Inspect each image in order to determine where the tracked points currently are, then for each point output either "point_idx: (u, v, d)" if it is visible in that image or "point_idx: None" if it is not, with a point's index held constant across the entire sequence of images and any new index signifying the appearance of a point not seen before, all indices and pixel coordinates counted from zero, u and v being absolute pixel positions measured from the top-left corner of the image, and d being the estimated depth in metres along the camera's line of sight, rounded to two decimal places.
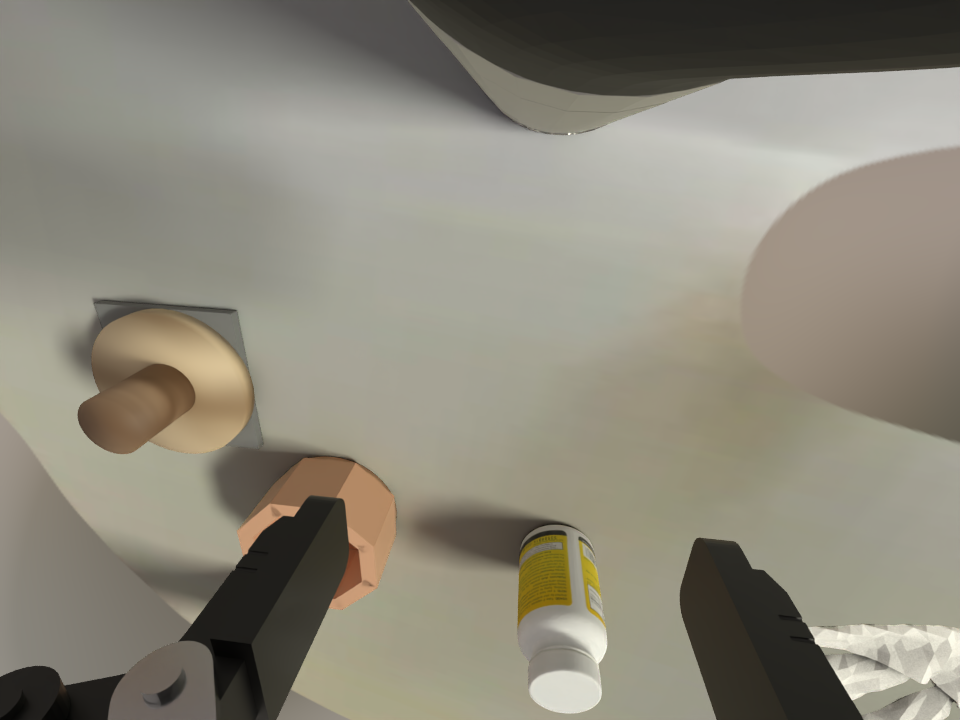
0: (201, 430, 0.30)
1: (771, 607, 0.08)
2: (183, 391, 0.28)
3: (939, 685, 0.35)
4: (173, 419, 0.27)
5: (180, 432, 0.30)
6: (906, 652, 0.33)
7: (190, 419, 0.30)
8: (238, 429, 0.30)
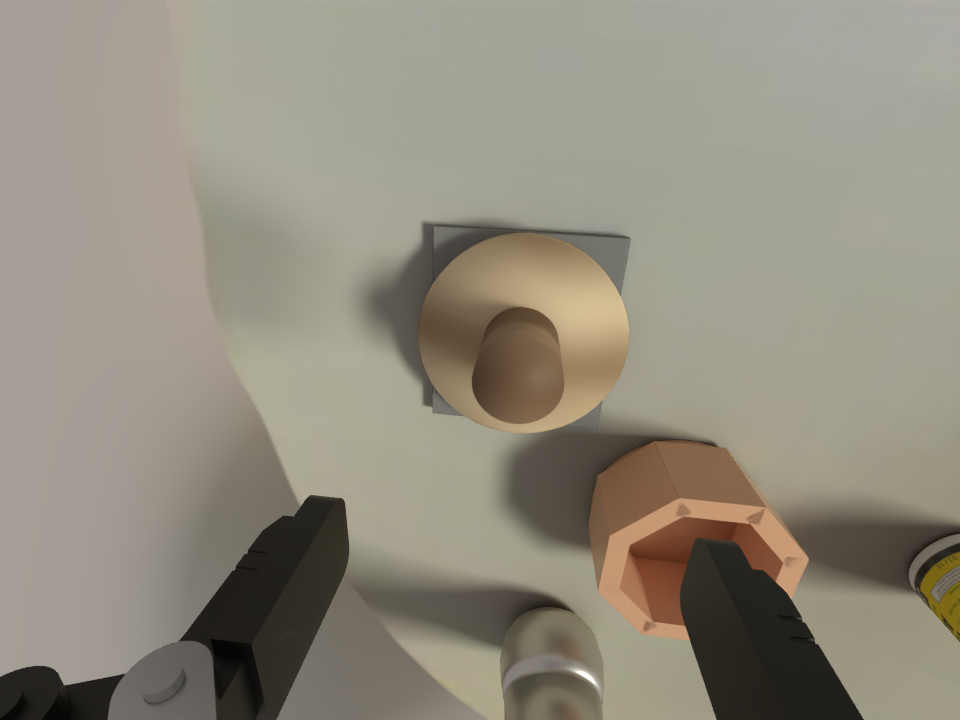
0: None
1: (771, 607, 0.08)
2: None
3: None
4: None
5: None
6: None
7: None
8: (601, 399, 0.22)
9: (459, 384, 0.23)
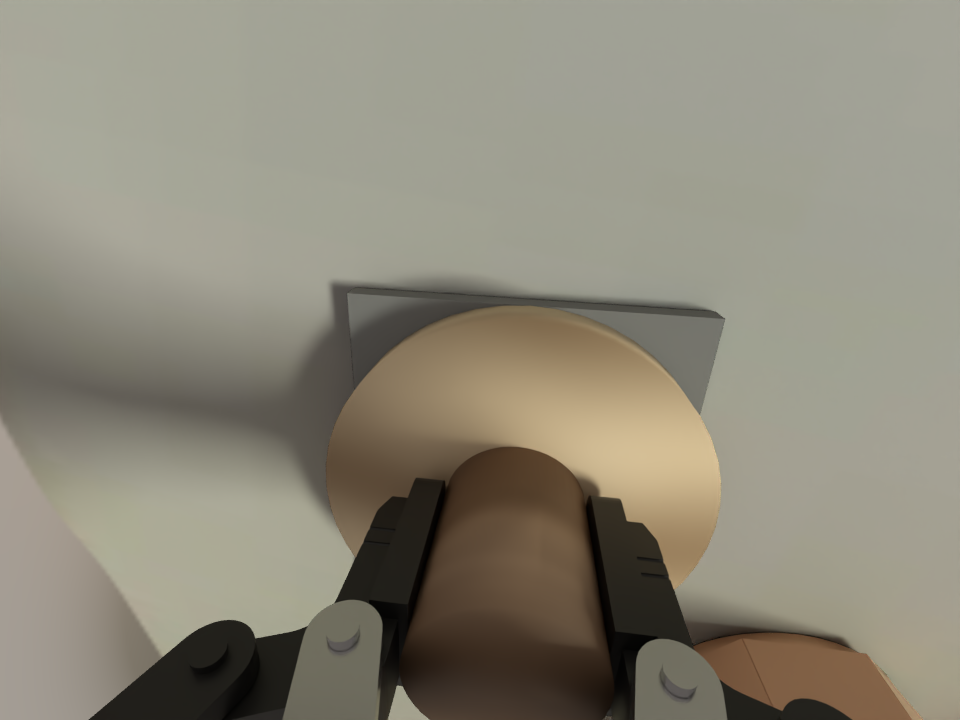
0: None
1: (632, 548, 0.09)
2: (587, 522, 0.11)
3: None
4: None
5: None
6: None
7: None
8: None
9: None
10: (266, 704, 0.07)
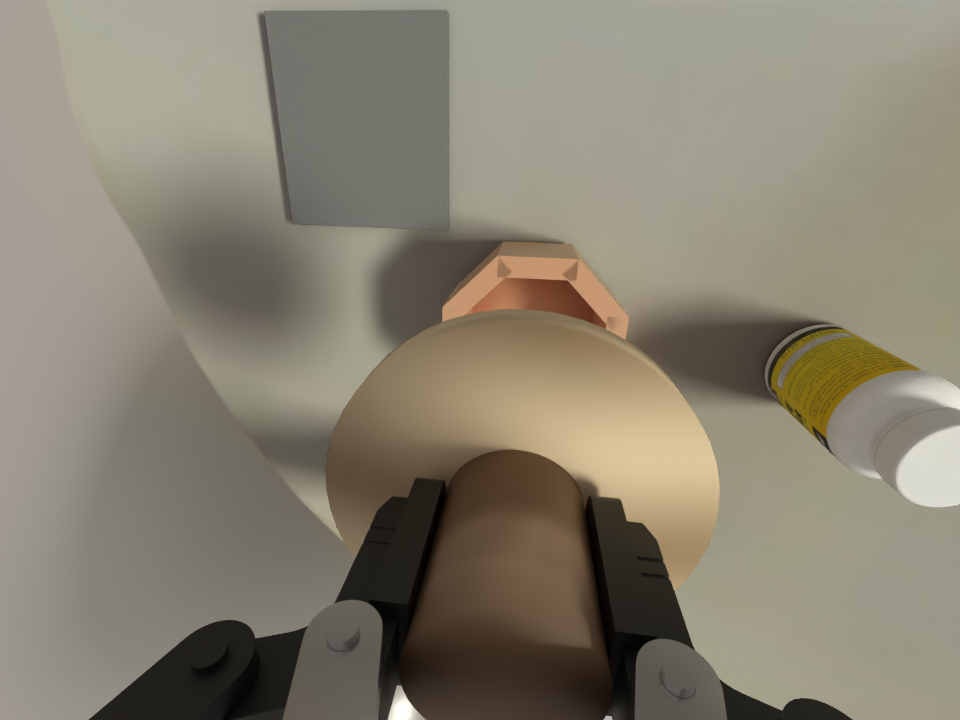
0: None
1: (632, 548, 0.09)
2: (586, 524, 0.11)
3: None
4: None
5: None
6: None
7: None
8: None
9: None
10: (266, 704, 0.07)
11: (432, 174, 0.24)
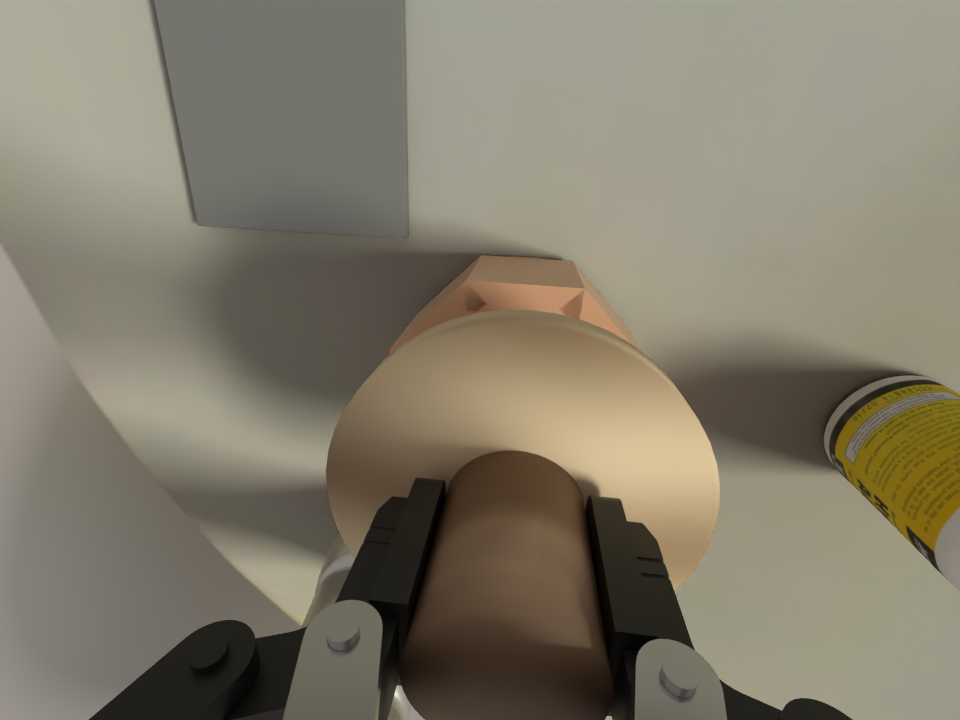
0: None
1: (632, 548, 0.09)
2: (586, 525, 0.11)
3: None
4: None
5: None
6: None
7: None
8: None
9: None
10: (266, 704, 0.07)
11: (383, 161, 0.17)
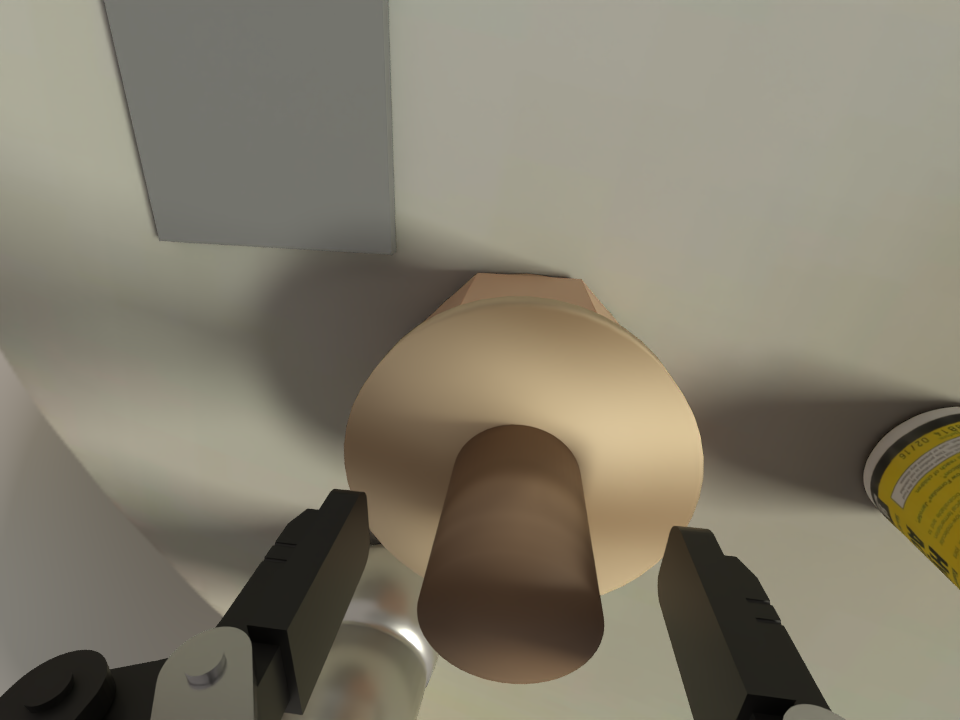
0: None
1: (739, 590, 0.08)
2: (582, 491, 0.12)
3: None
4: None
5: None
6: None
7: None
8: (650, 565, 0.13)
9: (416, 536, 0.14)
10: (130, 718, 0.06)
11: (365, 168, 0.15)
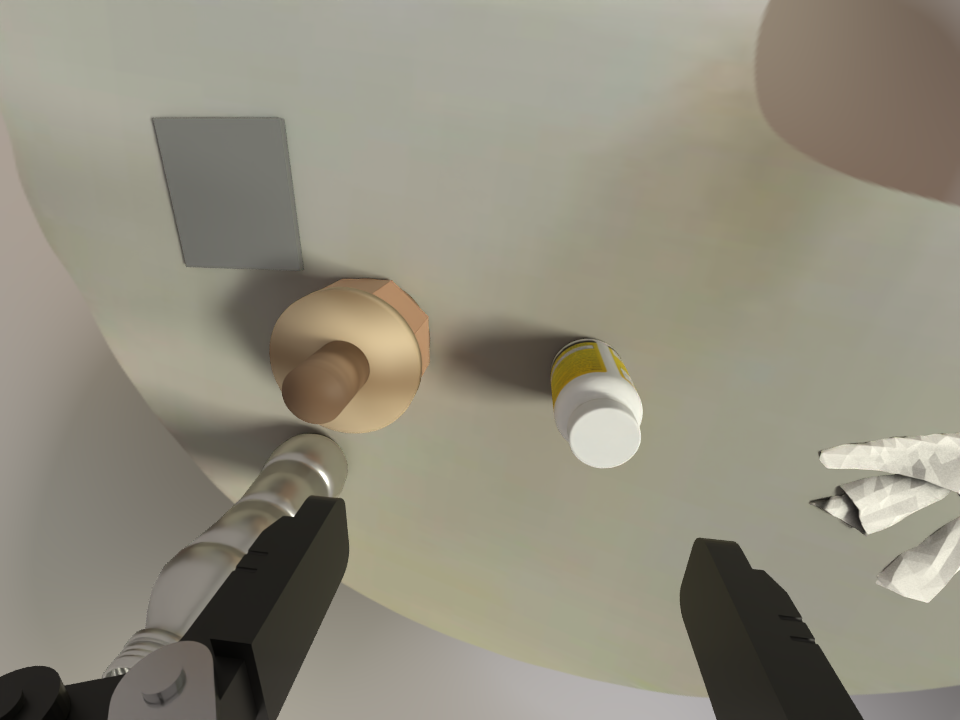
0: (369, 408, 0.30)
1: (771, 607, 0.08)
2: (363, 366, 0.28)
3: None
4: (356, 393, 0.28)
5: (347, 412, 0.31)
6: (941, 465, 0.33)
7: (360, 397, 0.30)
8: (407, 406, 0.30)
9: None
10: None
11: (283, 230, 0.32)
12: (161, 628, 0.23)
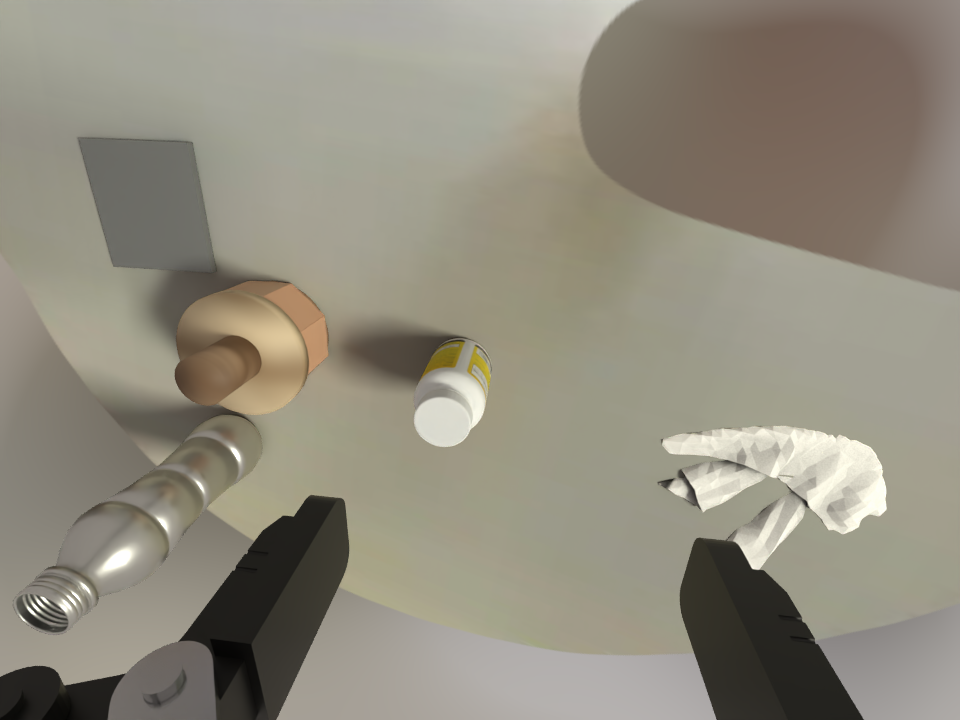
0: (264, 394, 0.36)
1: (771, 607, 0.08)
2: (253, 358, 0.34)
3: (793, 489, 0.41)
4: (245, 380, 0.33)
5: (245, 396, 0.36)
6: (759, 453, 0.39)
7: (255, 384, 0.35)
8: (295, 392, 0.35)
9: None
10: None
11: (196, 237, 0.37)
12: (65, 566, 0.28)
